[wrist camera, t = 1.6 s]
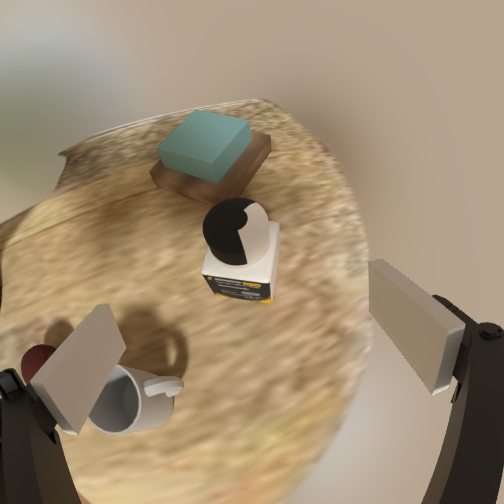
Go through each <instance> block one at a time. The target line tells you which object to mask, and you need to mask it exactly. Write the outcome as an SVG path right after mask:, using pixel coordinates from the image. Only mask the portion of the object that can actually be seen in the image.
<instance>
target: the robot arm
mask: <svg viewBox="0 0 504 504" xmlns="http://www.w3.org/2000/svg"><path fill="white" fill-rule="evenodd" d="M368 267H369V312H370V313H371V315H372V316H373V317H374V318H375V320H376V321H377V322H378V323H379V325H380V326H381V327H382V329H383V330H384V331H385V332H386V334H387V335H388V336H389V337H390V339H391V340H392V341H393V343H394V344H395V345H396V347H397V348H398V349H399V351H400V352H401V353H402V355H403V356H404V357H405V359H406V360H407V361H408V363H409V364H410V365H411V367H412V368H413V369H414V371H415V372H416V373H417V375H418V376H419V378H420V379H421V380H422V382H423V383H424V385H425V386H426V387H427V389H428V390H429V392H430V393H431V394H432V395H434V394H436V393H438V392H440V391H443V390H445V389H447V388H449V385H450V382H451V379H452V376H454V377H455V378H456V379H457V381H458V383H457V386H456V389H455V392H454V394H453V398H452V400H451V403H453V405H452V410H451V414H450V419H449V423H448V427H447V431H446V435H445V438H444V442H443V445H442V449H441V452H440V455H439V458H438V461H437V464H436V467H435V470H434V473H433V476H432V478H431V481H430V484H429V486H428V489H427V491H426V494H425V496H424V498H423V501H422V503H421V504H496V500H497V496H498V492H499V488H500V483H501V478H502V472H503V466H504V330H503V329H502V328H501V327H500V326H498V325H496V324H494V323H488V322H486V323H480V324H477V323H476V322H475V321H474V320H473V319H471V318H470V317H469V316H467V315H466V314H465V313H464V312H462V311H461V310H459V308H457V307H456V306H455V305H454V306H453V304H452V303H451V302H450V301H448V300H447V299H445V298H443V297H440V296H438V295H433V296H431V295H429V294H428V293H427V292H426V291H424V290H423V289H422V288H420V287H419V286H418V285H417V284H415V283H414V282H413V281H411V280H410V279H409V278H407V277H406V276H405V275H403V274H402V273H401V272H399V271H398V270H397V269H395V268H394V267H393V266H391V265H390V264H388V263H387V262H386V261H384V260H383V259H379V260H374V261H369V262H368ZM0 304H1V289H0ZM125 350H126V345H125V343H124V341H123V338H122V336H121V333H120V331H119V328H118V326H117V323H116V321H115V318H114V316H113V313H112V310H111V307H110V305H109V304H102V305H97V306H96V307H95V308H94V309H93V310H92V311H91V312H90V314H89V315H88V316H87V317H86V318H85V319H84V320H83V321H82V322H81V323H80V324H79V325H78V326H77V327H76V329H75V330H74V331H73V332H72V333H71V334H70V335H69V336H68V337H67V338H66V340H65V341H64V342H63V343H62V344H61V345H60V346H59V347H58V349H57V350H56V351H55V352H54V353H53V354H52V355H51V357H50V358H49V359H48V360H47V361H46V362H45V364H44V365H43V366H42V367H41V368H40V369H39V371H38V372H37V373H36V374H35V375H34V377H33V378H32V379H31V380H30V382H29V383H28V384H27V386H26V387H25V385H24V384H23V382H22V380H21V379H20V377H19V375H18V374H17V372H16V370H15V369H13V368H9V369H5V370H3V371H1V372H0V395H1V397H2V398H1V399H0V504H81V501H80V499H79V496H78V494H77V491H76V488H75V486H74V483H73V480H72V477H71V475H70V472H69V469H68V465H67V462H66V459H65V456H64V452H63V449H62V445H61V442H60V438H59V434H58V432H57V431H56V430H55V426H56V424H57V423H58V424H59V426H60V427H61V428H62V430H63V431H64V432H65V433H69V434H74V435H79V433H80V431H81V429H82V427H83V425H84V423H85V421H86V419H87V417H88V415H89V414H90V412H91V410H92V408H93V406H94V404H95V402H96V401H97V399H98V397H99V395H100V393H101V391H102V390H103V388H104V386H105V384H106V382H107V381H108V379H109V377H110V375H111V374H112V372H113V370H114V368H115V367H116V365H117V363H118V361H119V360H120V358H121V356H122V355H123V353H124V351H125Z"/></svg>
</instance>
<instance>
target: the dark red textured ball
mask: <svg viewBox="0 0 504 504" xmlns="http://www.w3.org/2000/svg"><path fill="white" fill-rule="evenodd" d="M56 350H57V349H56V348H54V347H52V346H48V345H42V344H40V345H36V346H33V347H32V348H31V349H29V350H28V351H27V352H26V353H25V354H24V356H23V358H22V362H21V371H22V376H23V378H24V381H25V382H26V384H28V383H29V382H30V380H31V379H32V378H33V377H34V375H35V374H36V373H37V372H38V371H39V369H40V368H41V367H42V366H43V365H44V364H45V362H46V361H47V360H48V359H49V358H50V357H51V355H52V354H53V353H54V352H55V351H56Z"/></svg>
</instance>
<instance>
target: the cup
mask: <svg viewBox="0 0 504 504" xmlns="http://www.w3.org/2000/svg"><path fill="white" fill-rule="evenodd" d="M183 388H184V382H183V381H182V380H181V379H180V378H179V377H176V376H157V375H155V374H153V373H150V372H147V371H143V370H138V369H134V368H130V367H126V366H123V365H119V364H117V365H116V367H115V368H114V370H113V372H112V374H111V375H110V377H109V379H108V381H107V382H106V384H105V386H104V388H103V390H102V391H101V393H100V395H99V397H98V399H97V401H96V402H95V404H94V406H93V408H92V410H91V412H90V414H89V415H88V417H87V419H88V420H89V422H90V423H91V424H92V425H93V426H94V427H95V428H97V429H98V430H100V431H102V432H104V433H106V434H110V435H120V434H127V433H133V432H138V431H144V430H149V429H154V428H157V427H159V426H161V425H163V424H164V423H165V422H166V421H168V420H169V418H170V416H171V414H172V411H173V407H174V401H173V396H174V395H176V394H178V393H179V392H180V391H182V390H183Z"/></svg>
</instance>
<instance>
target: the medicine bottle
mask: <svg viewBox="0 0 504 504" xmlns="http://www.w3.org/2000/svg"><path fill="white" fill-rule="evenodd" d="M203 234H204V237H205V239H206V242H207V244H208V247H207V251H206V254H205V258H204V261H203V265H202V269H201V273H202V275H203V276H204V278H205V280H206V281H207V283H208V284H209V286H210V288H211V289H212V291H213V293H214V294H215V295H217V296H223V297H229V298H236V299H242V300H249V301H256V302H263V303H271V302H272V300H273V293H274V287H275V281H276V275H277V268H278V262H279V256H280V227H279V223H278V222H277V221H268V217H267V214H266V212H265V210H264V209H263V208H262V207H261V206H260V205H259V204H258V203H256V202H255V201H252V200H250V199H246V198H230V199H226V200H224V201H221V202H220V203H218V204H216V205H215V206H214V207H213V208H212V209H211V210H210V211H209V212H208V213H207V215H206V217H205V219H204V222H203Z"/></svg>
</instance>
